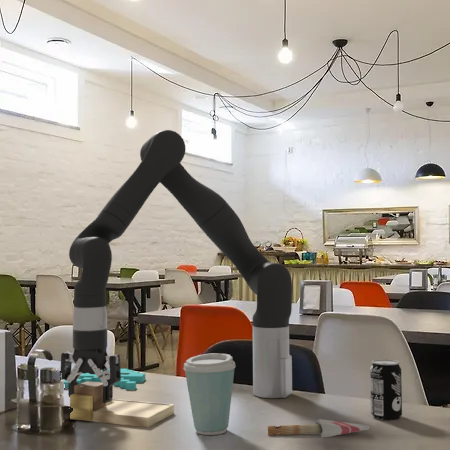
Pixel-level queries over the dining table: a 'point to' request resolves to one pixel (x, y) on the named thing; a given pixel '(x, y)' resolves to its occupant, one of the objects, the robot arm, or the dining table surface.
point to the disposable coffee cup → (210, 391)
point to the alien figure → (127, 381)
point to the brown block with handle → (86, 400)
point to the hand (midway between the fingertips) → (90, 400)
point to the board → (132, 412)
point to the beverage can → (386, 389)
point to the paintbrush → (318, 428)
